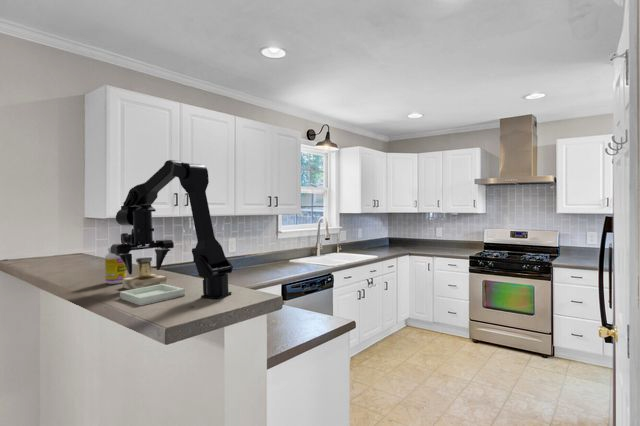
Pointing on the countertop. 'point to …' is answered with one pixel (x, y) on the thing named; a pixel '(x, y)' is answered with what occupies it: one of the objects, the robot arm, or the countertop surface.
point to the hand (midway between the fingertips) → (144, 272)
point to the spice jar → (144, 267)
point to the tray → (151, 294)
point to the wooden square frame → (143, 281)
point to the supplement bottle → (114, 268)
